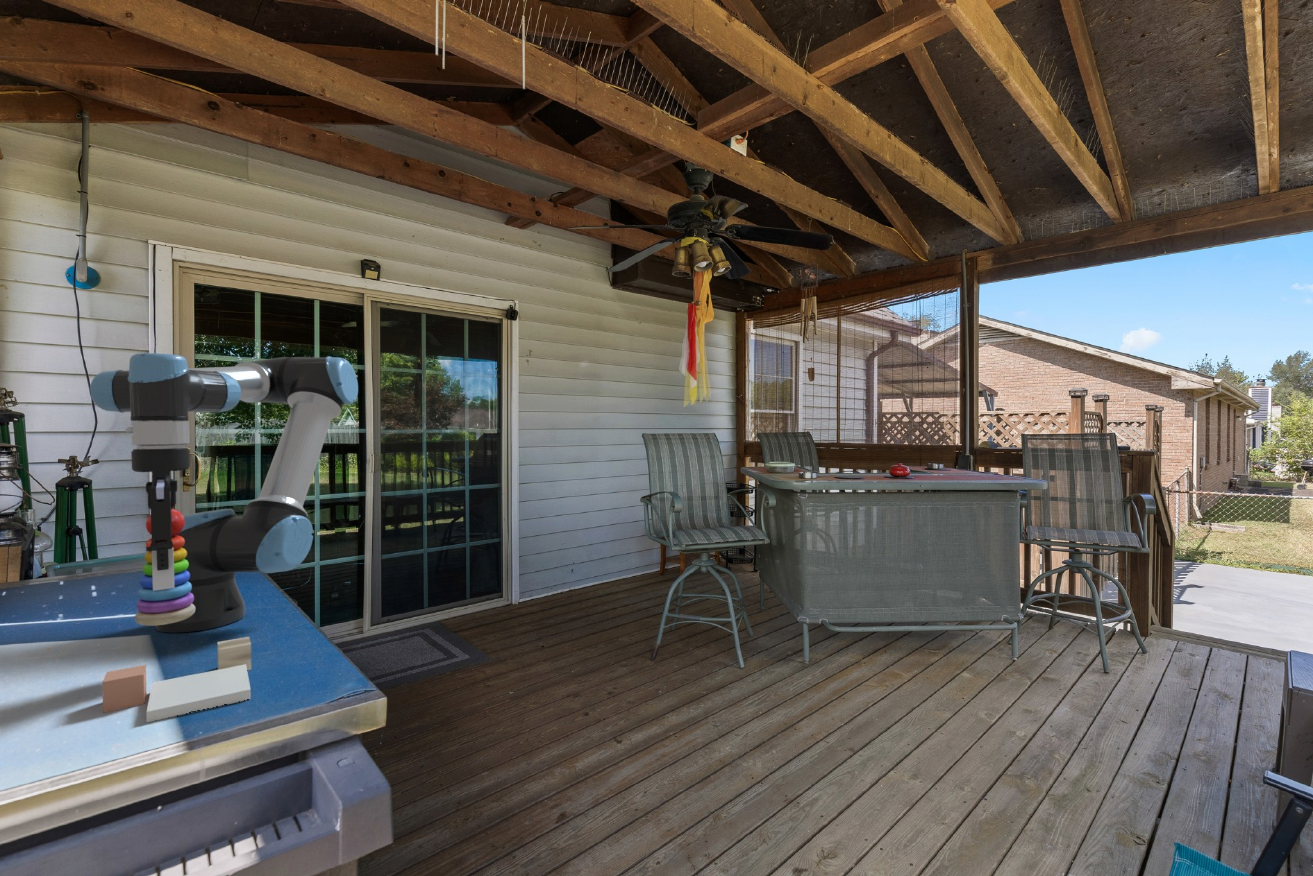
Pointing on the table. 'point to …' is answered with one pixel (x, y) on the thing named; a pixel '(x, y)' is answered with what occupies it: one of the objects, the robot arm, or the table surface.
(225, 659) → the birch block
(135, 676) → the terracotta block
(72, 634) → the table surface
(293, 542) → the robot arm
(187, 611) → the stacking toy
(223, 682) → the white square slab
